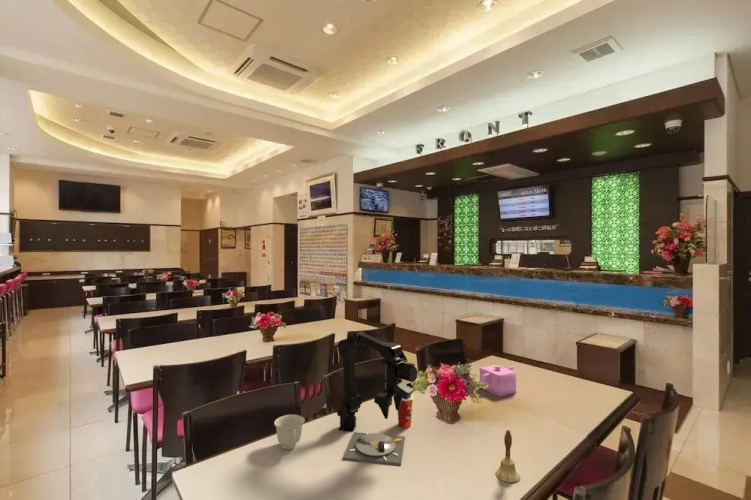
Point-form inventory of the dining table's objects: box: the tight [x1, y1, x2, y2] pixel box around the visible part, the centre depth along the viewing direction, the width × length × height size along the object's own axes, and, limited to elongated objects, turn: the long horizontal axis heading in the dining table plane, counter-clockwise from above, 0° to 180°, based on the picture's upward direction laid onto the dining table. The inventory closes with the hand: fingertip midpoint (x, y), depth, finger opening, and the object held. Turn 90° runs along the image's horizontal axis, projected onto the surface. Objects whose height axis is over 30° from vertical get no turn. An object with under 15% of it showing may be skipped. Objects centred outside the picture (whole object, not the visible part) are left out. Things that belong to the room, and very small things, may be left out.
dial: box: [356, 432, 396, 457], centre depth 151 cm, size 16×16×4 cm
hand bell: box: [495, 429, 521, 483], centre depth 133 cm, size 8×8×16 cm
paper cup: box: [397, 393, 414, 429], centre depth 171 cm, size 8×8×14 cm
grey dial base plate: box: [342, 431, 406, 466], centre depth 151 cm, size 22×20×2 cm
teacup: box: [273, 414, 305, 450], centre depth 151 cm, size 12×15×10 cm
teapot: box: [479, 364, 517, 398], centre depth 215 cm, size 15×25×14 cm, turn 118°
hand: (391, 414), depth 152 cm, fingers open, 9 cm apart
